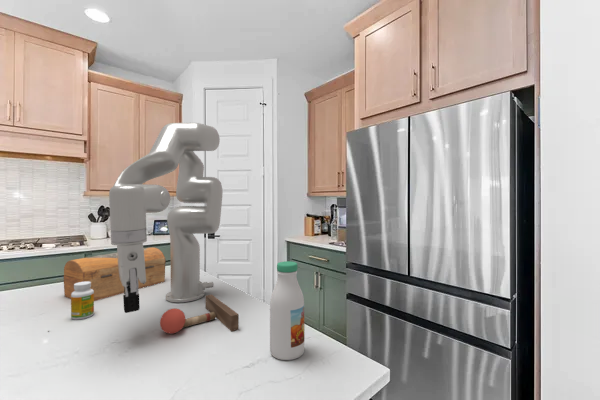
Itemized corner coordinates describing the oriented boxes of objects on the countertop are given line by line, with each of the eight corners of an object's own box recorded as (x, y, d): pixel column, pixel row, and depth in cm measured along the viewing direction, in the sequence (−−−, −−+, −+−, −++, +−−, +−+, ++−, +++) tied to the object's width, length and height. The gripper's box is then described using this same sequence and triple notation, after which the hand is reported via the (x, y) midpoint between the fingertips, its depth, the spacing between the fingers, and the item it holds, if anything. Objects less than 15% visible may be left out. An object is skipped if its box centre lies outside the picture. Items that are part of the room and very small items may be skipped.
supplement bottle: (81, 320, 84) (81, 286, 83) (66, 319, 85) (65, 285, 85) (98, 313, 89) (98, 281, 89) (83, 312, 90) (83, 280, 90)
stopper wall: (211, 306, 94) (211, 294, 94) (238, 329, 78) (238, 314, 78) (205, 308, 93) (205, 295, 93) (231, 331, 77) (231, 316, 77)
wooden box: (143, 277, 131) (143, 245, 131) (166, 282, 122) (166, 248, 122) (61, 296, 105) (60, 257, 105) (83, 305, 97) (83, 262, 97)
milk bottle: (278, 365, 61) (278, 268, 61) (264, 348, 68) (264, 261, 68) (310, 355, 65) (310, 264, 65) (294, 340, 72) (294, 258, 72)
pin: (180, 326, 80) (212, 317, 86) (182, 329, 78) (215, 320, 84) (180, 318, 80) (212, 310, 85) (183, 321, 78) (215, 313, 84)
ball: (172, 300, 78) (153, 317, 77) (175, 310, 73) (155, 329, 72) (188, 313, 81) (170, 330, 79) (192, 324, 76) (173, 342, 74)
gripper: (152, 239, 68) (154, 317, 69) (141, 231, 80) (143, 297, 81) (113, 243, 64) (116, 326, 65) (108, 233, 76) (111, 304, 77)
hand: (131, 310), depth 73 cm, fingers closed
